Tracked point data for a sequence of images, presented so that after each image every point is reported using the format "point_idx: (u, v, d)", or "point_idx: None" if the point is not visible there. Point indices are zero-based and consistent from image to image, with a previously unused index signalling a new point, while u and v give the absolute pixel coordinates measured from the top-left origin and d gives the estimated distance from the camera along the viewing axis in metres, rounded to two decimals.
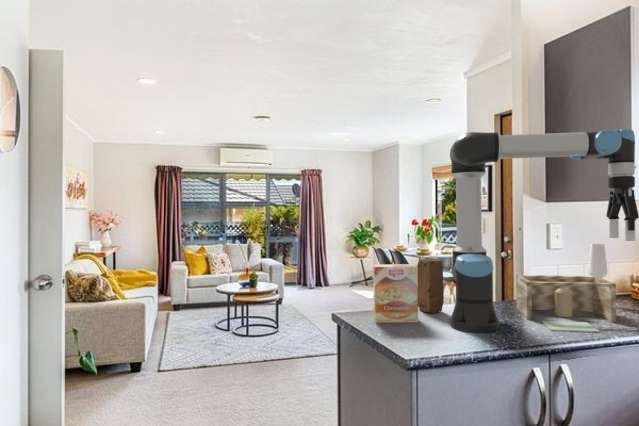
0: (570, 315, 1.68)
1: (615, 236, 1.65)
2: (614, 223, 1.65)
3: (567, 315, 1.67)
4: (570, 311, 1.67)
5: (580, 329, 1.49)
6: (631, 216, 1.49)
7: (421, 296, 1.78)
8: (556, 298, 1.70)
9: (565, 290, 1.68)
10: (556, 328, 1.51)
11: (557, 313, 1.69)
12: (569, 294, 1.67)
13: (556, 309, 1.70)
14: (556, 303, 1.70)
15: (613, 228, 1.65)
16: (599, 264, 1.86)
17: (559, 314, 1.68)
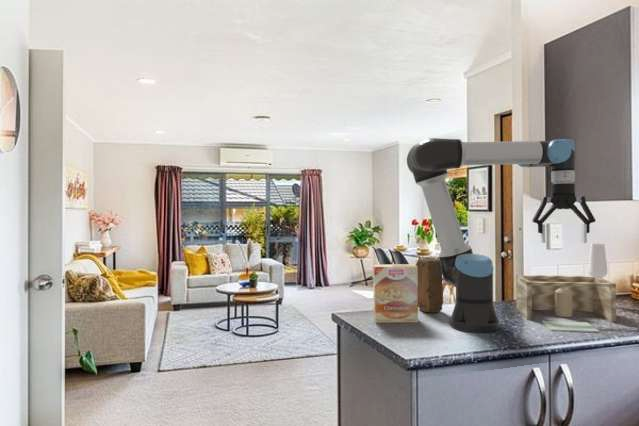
0: (570, 315, 1.68)
1: (583, 241, 1.68)
2: (583, 228, 1.68)
3: (567, 315, 1.67)
4: (570, 311, 1.67)
5: (580, 329, 1.49)
6: (532, 220, 1.72)
7: (421, 296, 1.78)
8: (556, 298, 1.70)
9: (565, 290, 1.68)
10: (556, 328, 1.51)
11: (557, 313, 1.69)
12: (569, 294, 1.67)
13: (556, 309, 1.70)
14: (556, 303, 1.70)
15: (582, 233, 1.68)
16: (599, 264, 1.86)
17: (559, 314, 1.68)
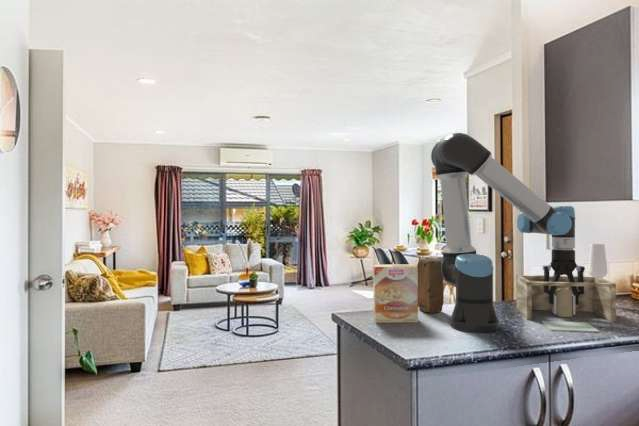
0: (570, 315, 1.68)
1: (572, 312, 1.69)
2: None
3: (567, 315, 1.67)
4: (570, 311, 1.67)
5: (580, 329, 1.49)
6: (543, 290, 1.72)
7: (421, 296, 1.78)
8: (556, 298, 1.70)
9: (565, 290, 1.68)
10: (556, 328, 1.51)
11: (557, 313, 1.69)
12: (569, 294, 1.67)
13: (556, 309, 1.70)
14: (556, 303, 1.70)
15: None
16: (599, 264, 1.86)
17: (559, 314, 1.68)
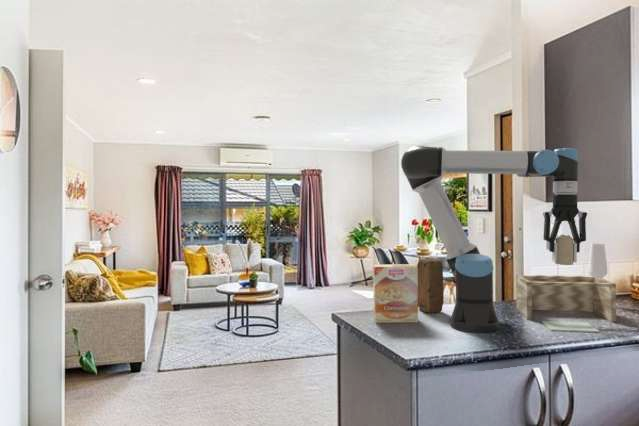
0: (571, 263, 1.60)
1: (573, 260, 1.61)
2: (573, 247, 1.62)
3: (568, 263, 1.59)
4: (571, 258, 1.60)
5: (580, 329, 1.49)
6: (544, 238, 1.64)
7: (421, 296, 1.78)
8: (557, 245, 1.62)
9: (566, 237, 1.60)
10: (556, 328, 1.51)
11: (558, 261, 1.61)
12: (570, 240, 1.59)
13: None
14: (557, 251, 1.62)
15: None
16: (599, 264, 1.86)
17: (560, 262, 1.61)
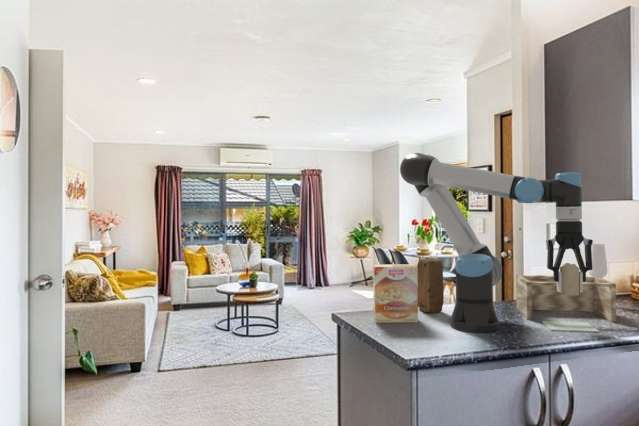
0: (577, 293, 1.51)
1: (579, 290, 1.53)
2: None
3: (574, 293, 1.51)
4: (577, 289, 1.51)
5: (580, 329, 1.49)
6: (547, 267, 1.56)
7: (421, 296, 1.78)
8: None
9: (571, 266, 1.52)
10: (556, 328, 1.51)
11: (562, 291, 1.53)
12: (575, 269, 1.51)
13: None
14: None
15: None
16: (599, 264, 1.86)
17: (565, 292, 1.52)
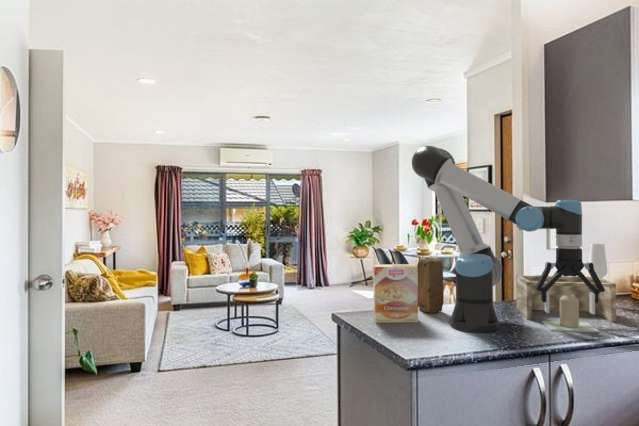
0: (576, 325, 1.51)
1: (591, 311, 1.52)
2: (590, 297, 1.52)
3: (573, 325, 1.51)
4: (576, 321, 1.51)
5: (580, 329, 1.49)
6: (535, 287, 1.57)
7: (421, 296, 1.78)
8: (561, 306, 1.54)
9: (571, 297, 1.52)
10: (556, 328, 1.51)
11: (562, 323, 1.53)
12: (575, 301, 1.51)
13: (561, 318, 1.54)
14: (561, 312, 1.54)
15: (590, 302, 1.53)
16: (599, 264, 1.86)
17: (564, 324, 1.52)
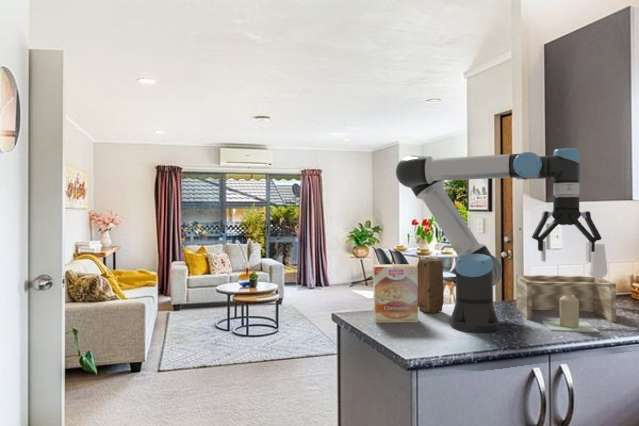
0: (576, 325, 1.51)
1: (587, 260, 1.53)
2: (587, 246, 1.53)
3: (573, 325, 1.51)
4: (576, 321, 1.51)
5: (580, 329, 1.49)
6: (532, 236, 1.57)
7: (421, 296, 1.78)
8: (561, 306, 1.54)
9: (571, 297, 1.52)
10: (556, 328, 1.51)
11: (562, 323, 1.53)
12: (575, 302, 1.51)
13: (561, 318, 1.54)
14: (561, 312, 1.54)
15: (587, 251, 1.53)
16: (599, 264, 1.86)
17: (564, 324, 1.52)
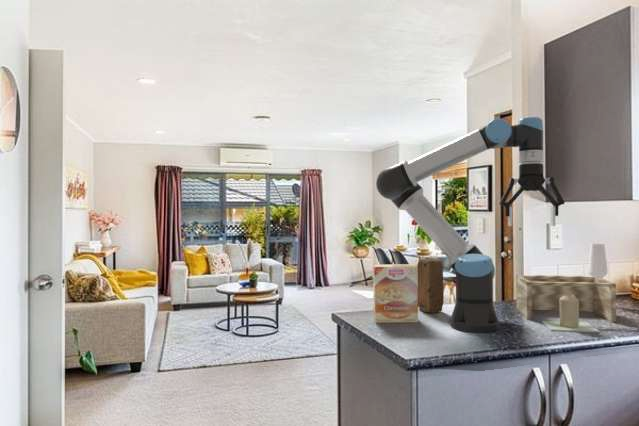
0: (576, 325, 1.51)
1: (552, 224, 1.60)
2: (551, 210, 1.60)
3: (573, 325, 1.51)
4: (576, 321, 1.51)
5: (580, 329, 1.49)
6: (499, 203, 1.64)
7: (421, 296, 1.78)
8: (561, 306, 1.54)
9: (571, 297, 1.52)
10: (556, 328, 1.51)
11: (562, 323, 1.53)
12: (575, 301, 1.51)
13: (561, 318, 1.54)
14: (561, 312, 1.54)
15: (551, 216, 1.60)
16: (599, 264, 1.86)
17: (564, 324, 1.52)
